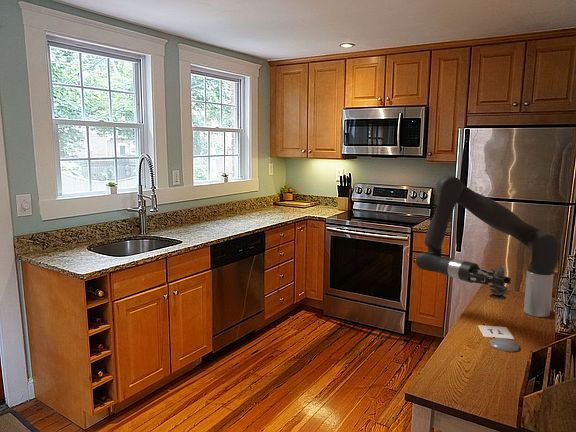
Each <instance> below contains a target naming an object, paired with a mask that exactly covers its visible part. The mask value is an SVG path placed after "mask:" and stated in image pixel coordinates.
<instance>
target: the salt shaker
mask: <svg viewBox="0 0 576 432" xmlns="http://www.w3.org/2000/svg"><path fill="white" fill-rule="evenodd" d="M494 270H495V276H494V277H495V278H498V279H502V280H504V279H505V277H506V276H505V268H503V267H502V265H501V264H499V266H498V267H495V269H494ZM504 276H505V277H504ZM489 289H490V292H491V294H490V295H489V297H490V298H492V299H494V300H506V299H507V297H506V296H505V294H506V293H507V291H508V287H506V286H505V285H504V286H499V285H496V284H489Z"/></svg>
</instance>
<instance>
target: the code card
mask: <svg viewBox="0 0 576 432" xmlns="http://www.w3.org/2000/svg"><path fill="white" fill-rule="evenodd" d="M477 327H478V328H479V330H480V332H481V334H482V335H483V337H484V338H493V337H495V338H503V339H508V340H510V339H511V340H515V338H514V336H513V335H512V333H511V332H510V330H509V329H508V328H507V327H506V326H492V325H479V324H478V325H477Z"/></svg>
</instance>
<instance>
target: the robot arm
mask: <svg viewBox="0 0 576 432" xmlns="http://www.w3.org/2000/svg"><path fill="white" fill-rule="evenodd" d="M436 191H437V193H438V199H437V200H438V201H437V205H436V208H435V212H434V213H433V216H432V218H431V221H430V223H429V225H428V226H427V227H428V228H427V231H426V234H425V238H424V245H425V246H426V247H427V252H426V251H425V252H424V251H423V252H419V253H418V254H417V255H416V256H415V259H414V262H415V265H416V266H417V267H418V268H419V269H421V270H423V271H428V272H431V273H432V272H433V273H439V274H442V275H445V276H448V277H451V278H453V279H456V280H459V281H463V282H467V283H469V284H473V283H475V284H481V285H493V284H496V285H499V286H505V284H507V285H509V284H511V282H512V279H511V277H509V276H505V275H504V277H505V279H504V280H502V279H498V278H495V277H494V276H495V269H492V268H490V269H489V270H487V269H485V268H483V269H482V268H480V266H479V265H478V264H477V263H475V262H471V261H467V260H463V259H457V258H453V257H447V256H442V249H443V248H442V245H443V243H444V239H445V237H446V234H447V229H448V226H449V224H450V223H449V222H450V220H451V216H452V214H453V211H454V209H455V207H456V205H457V204H458V205H460V206H462V207H463V208H465V209H466V210H467V211H468V212H469V213H471V214H472V215H473V216H475V217H476V218H478V219H479V220H480V221H482V222H483V223H484V224H487V225H488V226H489V227H491V228H493V229H495V230H497V231H499V232H500V233H501V232H502V233H503V234H506V235H509V236H510V237H512V238H514V239H516V240H517V241H519V242H520V243H521V244H523V245H524V246H526V248H528V249H529V251H531V258H530V262H528V263H527V268H526V279H525V293H524V301H523V302H524V303H523V312H524V313H525V314H527V315H529V316H532V317H533V316H534V317H537V318H538V317H539V318H547V317H549V316H550V315H551V307H552V306H551V305H552V295H553V294H552V293H553V285H554V275H555V270H556V269H557V264H558V260H559V259H558V258H559V251H560V245H559V241H558V238H557V237H555V235H553V234H551V233H549V232H547V231H544V230H541V229H539V228H537V227H535V226H532V225H531V224H529V223H527V222H525V221H524V220H522V219H521V218H520V217H519V216H518V215H517V214H515V213H514V212H513V211H512V210H511V209H509V208H507V207H506V206H504V205H503V204H500V203H499V202H497V201H495V200H494V199H492V198H490V197H488V196H485V195H483V194H480V193H478V192H475V191H474V190H472V189H471V188H469V187H468V186H466V185H465V184H463V182H462V181H461V180H460V178H458V177H456V176H453V175H444V176H442V177H440V178H439V179H438V180H437V182H436Z"/></svg>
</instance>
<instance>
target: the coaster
mask: <svg viewBox="0 0 576 432" xmlns="http://www.w3.org/2000/svg"><path fill="white" fill-rule="evenodd" d="M489 343H490V344H489V345H490V346H491V347H492V348H493V349H496V350H498V351H500V352H507V353H513V352H517V351H519V350H520V346H519V344H518V343H517V342H515V341H513V340H512V339H511V340H510V339H507V338H491V339H490V340H489Z"/></svg>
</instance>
